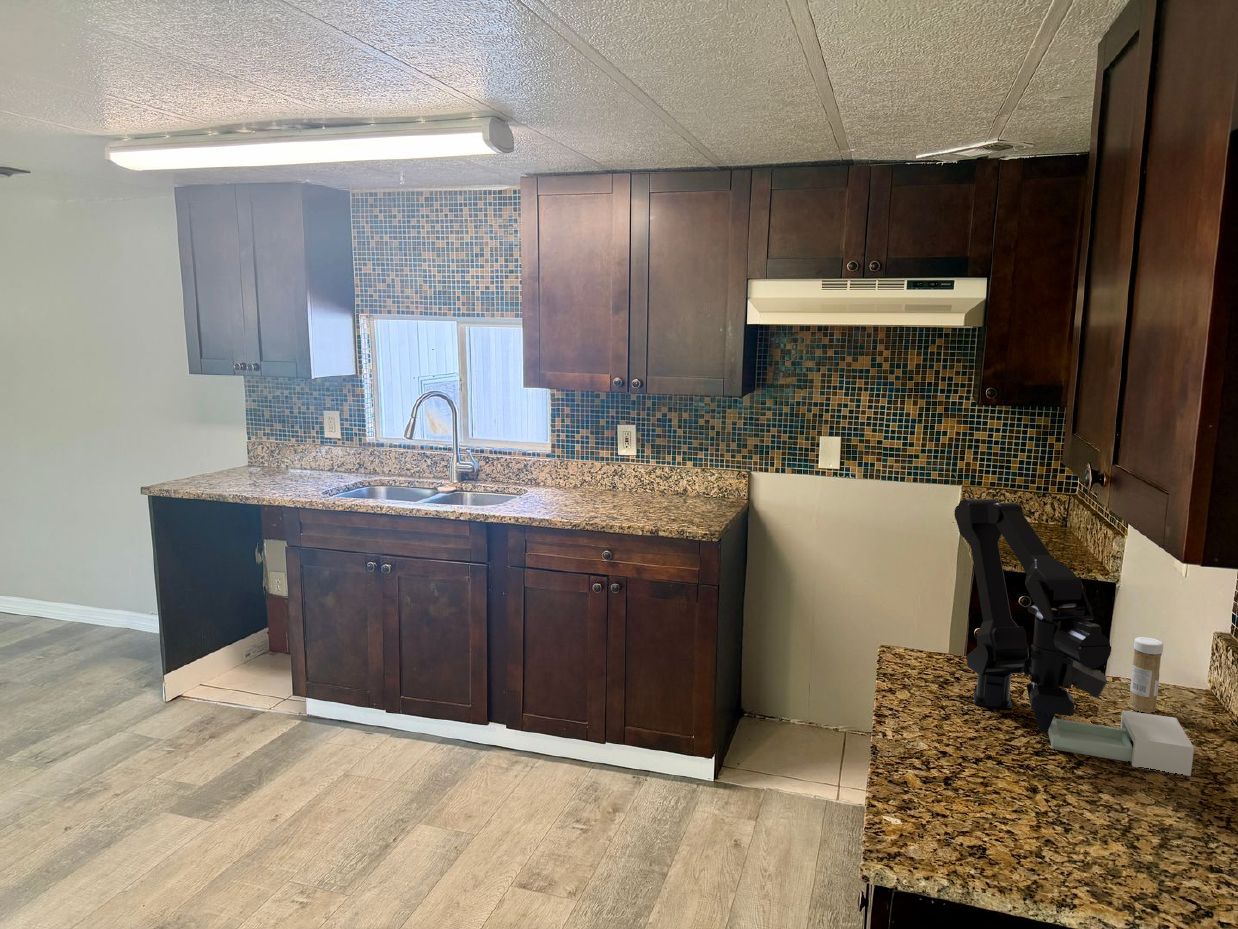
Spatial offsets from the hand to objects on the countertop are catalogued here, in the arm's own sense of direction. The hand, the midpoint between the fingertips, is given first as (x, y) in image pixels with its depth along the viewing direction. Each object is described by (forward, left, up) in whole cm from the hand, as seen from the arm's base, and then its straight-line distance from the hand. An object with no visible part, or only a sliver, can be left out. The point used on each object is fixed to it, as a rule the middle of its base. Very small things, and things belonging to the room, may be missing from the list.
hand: (1043, 732), depth 146 cm
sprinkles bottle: (-20, +19, -1) cm, 27 cm away
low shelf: (0, +17, -1) cm, 17 cm away
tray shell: (0, +7, -1) cm, 7 cm away
